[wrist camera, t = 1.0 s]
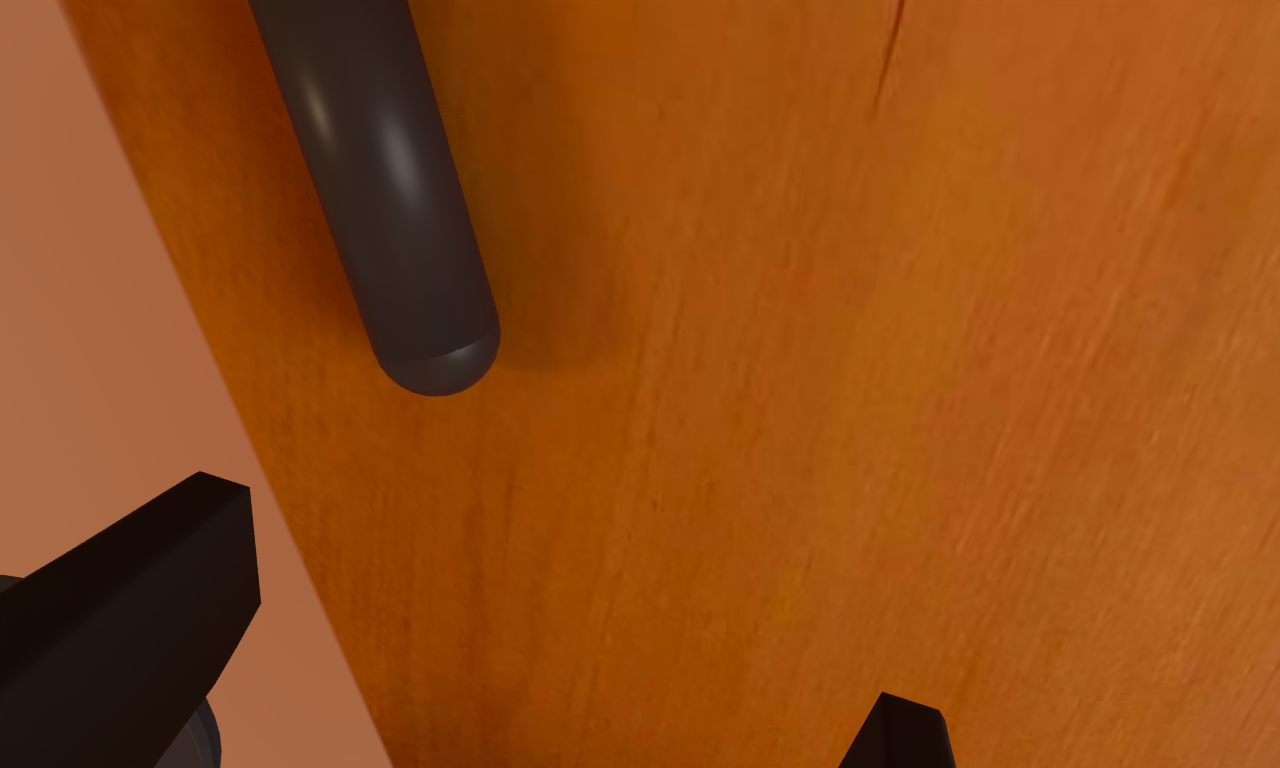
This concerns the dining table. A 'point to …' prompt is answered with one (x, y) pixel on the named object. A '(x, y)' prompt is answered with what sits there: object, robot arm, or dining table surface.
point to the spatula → (386, 185)
